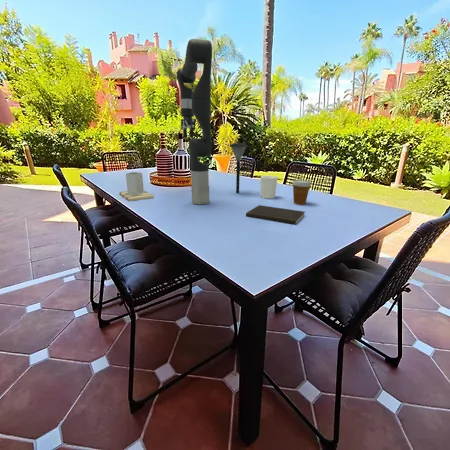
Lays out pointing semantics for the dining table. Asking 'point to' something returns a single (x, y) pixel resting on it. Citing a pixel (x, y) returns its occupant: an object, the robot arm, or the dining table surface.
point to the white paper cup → (268, 186)
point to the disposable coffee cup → (300, 191)
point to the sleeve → (134, 184)
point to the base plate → (133, 198)
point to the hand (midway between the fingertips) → (188, 137)
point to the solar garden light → (238, 159)
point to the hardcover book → (276, 214)
